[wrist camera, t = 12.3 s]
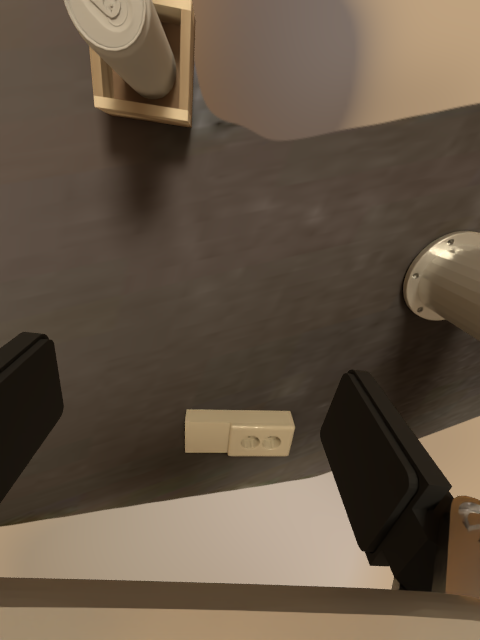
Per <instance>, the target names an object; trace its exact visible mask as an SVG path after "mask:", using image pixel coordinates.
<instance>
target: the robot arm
mask: <svg viewBox="0 0 480 640" xmlns="http://www.w3.org/2000/svg"><path fill="white" fill-rule="evenodd" d="M403 295H404V300H405V302H406V304H407V306H408V307H409V308H410V310H411V311H413V312H414V313H415V314H416V315H418V316H420V317H422V318H424V319H428V320H435V321H438V320H447V321H449V322H450V323H452V324H453V325H455V326H457V327H458V328H460V329H461V330H463V331H464V332H466V333H468V334H469V335H471V336H472V337H474V338H475V339H477V340H479V341H480V233H477V232H472V231H458V232H454V233H450V234H447V235H445V236H442V237H440V238H438V239H437V240H435V241H434V242H432V243H430V244H429V245H428V246H427V247H426V248H424V249H423V250H422V251H421V252H420V253H419V254H418V256H417V257H416V258H415V259H414V261H413V262H412V264H411V265H410V267H409V269H408V271H407V274H406V276H405V280H404V284H403ZM63 408H64V405H63V398H62V392H61V386H60V379H59V373H58V366H57V360H56V353H55V347H54V342H53V341H52V340H49V338H48V337H47V335H45V334H38V333H30V332H22V333H20V334H19V335H17V336H16V337H15V338H13V339H12V340H11V341H9V342H8V343H7V344H5V345H4V346H3V347H1V348H0V503H1V501H2V500H3V499H4V497H5V496H6V494H7V493H8V491H9V490H10V489H11V487H12V486H13V484H14V483H15V481H16V480H17V479H18V477H19V476H20V474H21V473H22V471H23V470H24V469H25V467H26V466H27V464H28V463H29V461H30V460H31V459H32V457H33V456H34V454H35V453H36V451H37V450H38V449H39V447H40V446H41V444H42V443H43V441H44V440H45V439H46V437H47V436H48V434H49V433H50V431H51V430H52V429H53V427H54V426H55V424H56V423H57V421H58V420H59V419H60V417H61V415H62V412H63ZM320 437H321V441H322V444H323V447H324V450H325V453H326V456H327V458H328V461H329V464H330V467H331V470H332V472H333V475H334V478H335V481H336V484H337V487H338V490H339V492H340V495H341V498H342V501H343V504H344V507H345V509H346V512H347V515H348V518H349V521H350V524H351V527H352V530H353V532H354V535H355V538H356V541H357V544H358V545H359V547H360V549H361V550H362V551H365V553H366V556H367V559H368V561H369V564H370V566H390V568H391V571H392V573H393V575H394V580H393V585H392V590H388V589H370V588H345V587H317V586H287V585H259V584H225V583H194V582H159V581H125V580H122V581H121V580H86V579H46V578H44V579H43V578H4V577H0V640H480V500H478V499H475V498H472V497H469V496H457V497H456V498H453V496H452V495H451V494H450V492H449V490H450V489H451V487H452V486H451V484H450V483H449V482H448V480H447V479H446V477H445V476H444V475H443V473H442V472H441V470H440V469H439V468H438V466H437V465H436V464H435V462H434V461H433V460H432V458H431V457H430V456H429V454H428V452H427V451H426V450H425V448H424V447H423V446H422V444H421V443H420V441H419V440H418V439H417V437H416V436H415V434H414V433H413V432H412V430H411V429H410V428H409V426H408V425H407V423H406V422H405V421H404V419H403V418H402V417H401V415H400V414H399V412H398V411H397V410H396V408H395V407H394V405H393V404H392V403H391V401H390V400H389V399H388V397H387V396H386V394H385V393H384V392H383V390H382V389H381V387H380V386H379V385H378V383H377V382H376V381H375V379H374V378H373V376H372V375H371V374H370V373H369V372H367V371H360V370H349V371H348V373H345V374H343V376H342V378H341V380H340V383H339V385H338V388H337V390H336V393H335V395H334V398H333V400H332V403H331V405H330V408H329V410H328V413H327V415H326V418H325V420H324V423H323V425H322V427H321V431H320Z"/></svg>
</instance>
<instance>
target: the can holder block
mask: <svg viewBox="0 0 480 640" xmlns="http://www.w3.org/2000/svg"><path fill="white" fill-rule="evenodd" d="M152 2H153V4H154V7H155V9H156V12H157V14H158V17H159V20H160V22H161V25H162V27H163V30H164V32H165V35H166V37H167V40H168V42H169V45H170V48H171V50H172V53H173V55H174V59H175V63H176V78H175V82H174V85H173V87H172V89H171V90H170V92H169V93H168V94H167V95H165V96H164V97H163V98H159V99H148V98H145V97H142V96H141V95H140V94H138V93H137V92H136V91H135V90H134V89H133V88H132V87H131V86H130V85H129V84H128V83H127V82H126V81H125V80H124V79H123V78H121V77H120V76H119V75H118V74H117V73H116V72H115V71H114V70H113V69H112V68H111V67H110V66H109V65H108V64H107V63H106V62H105V61H104V60H103V59H102V58H101V57H100V56H99V55H98V54H97V53H96V52H95V51H94V50H93V49H92V48H91V47H90V46H89V49H90V60H91V71H92V82H93V93H94V104H95V107H96V108H98V109H100V110H102V111H104V112H105V113H107V114H109V115H112V116H119V117H125V118H132V119H138V120H145V121H152V122H158V123H165V124H171V125H178V126H184V127H191V128H192V101H193V73H194V43H195V17H194V10H193V4H192V0H152Z"/></svg>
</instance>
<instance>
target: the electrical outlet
mask: <svg viewBox="0 0 480 640" xmlns="http://www.w3.org/2000/svg"><path fill="white" fill-rule="evenodd" d="M294 430H295V425H294V422H293V418H292V415H291V412H290V411H252V410H188V409H187V412H186V419H185V453H228V455H229V456H288V455H289V451H290V447H291V443H292V438H293V434H294Z"/></svg>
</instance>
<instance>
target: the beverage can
mask: <svg viewBox="0 0 480 640" xmlns="http://www.w3.org/2000/svg"><path fill="white" fill-rule="evenodd" d="M64 3H65V5H66V8H67V11H68V13H69V16H70V18H71V20H72V21H73V23H74V25H75V27H76V29H77V30H78V32H79V34H80V35H81V37H82V38H83V39H84V40H85V41H86V43H87V44H88V45H89V46H90V47H91V48H92V49H93V50H94V51H95V52H96V53H97V54H98V55H99V56H100V57H101V58H102V59H103V60H104V61H105V62H106V63H107V64H108V65H109V66H110V67H111V68H112V69H113V70H114V71H115V72H116V73H117V74H118V75H119V76H120V77H121V78H123V79H124V80H125V81H126V82H127V83H128V84H129V85H130V86H131V87H132V88H133V89H134V90H135V91H136V92H137V93H138V94H140V95H141V96H142V97H145V98H148V99H159V98H163V97H164V96H165V95H167V94H168V93H169V92H170V90H171V89H172V87H173V85H174V82H175V78H176V63H175V59H174V55H173V53H172V50H171V48H170V45H169V42H168V40H167V37H166V35H165V32H164V30H163V27H162V25H161V22H160V20H159V17H158V14H157V12H156V9H155V7H154V4H153V2H152V0H64Z"/></svg>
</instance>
